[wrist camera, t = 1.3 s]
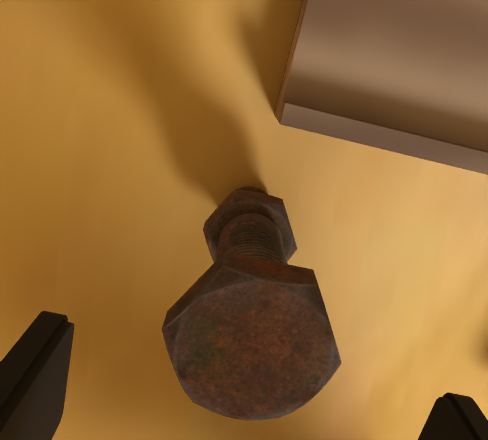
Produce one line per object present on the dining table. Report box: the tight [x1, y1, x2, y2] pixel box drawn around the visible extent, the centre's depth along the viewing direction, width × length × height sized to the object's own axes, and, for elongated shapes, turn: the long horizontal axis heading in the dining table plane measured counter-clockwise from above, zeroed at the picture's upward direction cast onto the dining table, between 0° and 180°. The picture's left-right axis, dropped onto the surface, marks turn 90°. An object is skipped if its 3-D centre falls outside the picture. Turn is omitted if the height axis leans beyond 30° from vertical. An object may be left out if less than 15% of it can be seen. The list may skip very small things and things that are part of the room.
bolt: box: [162, 187, 341, 420], centre depth 21 cm, size 6×5×15 cm
